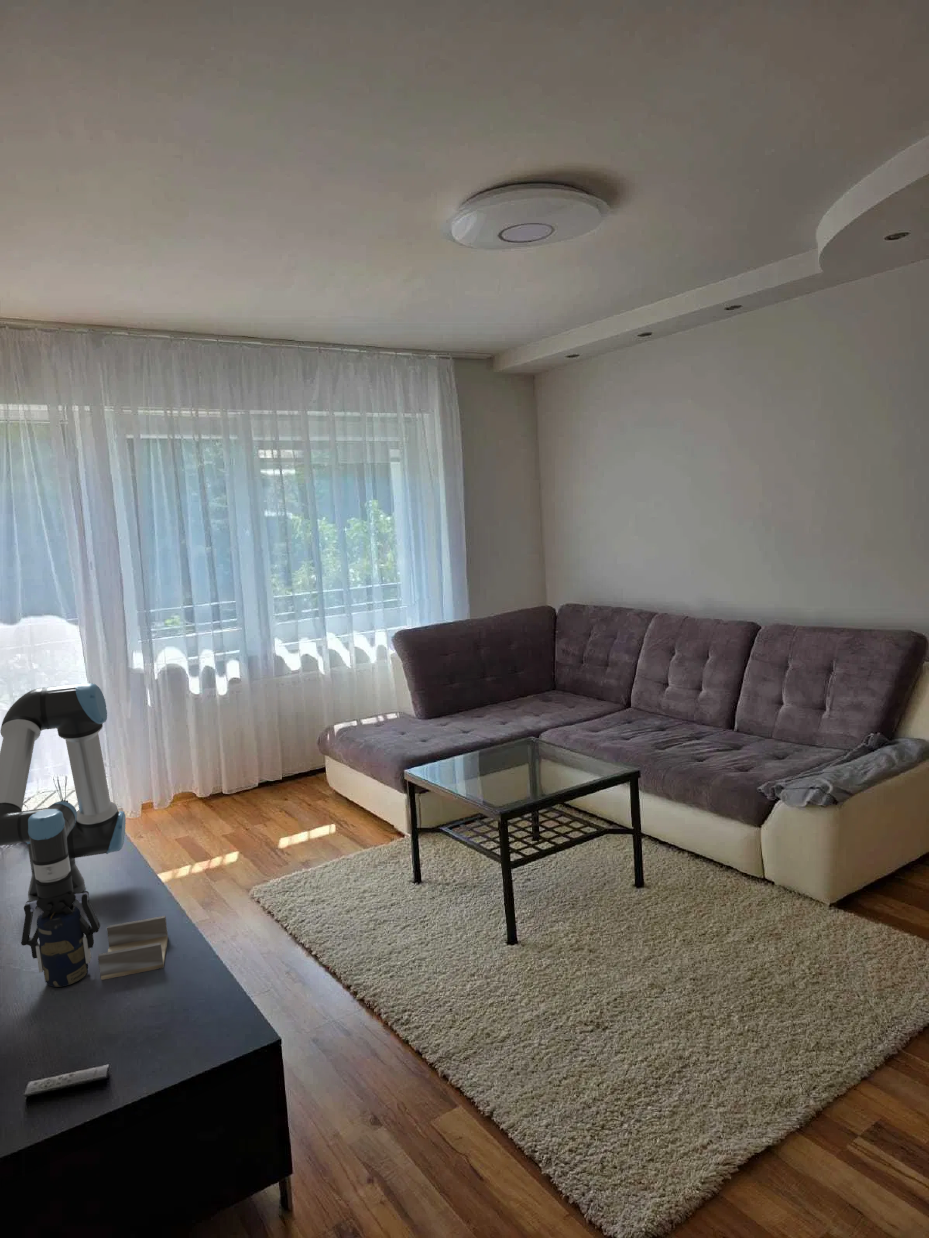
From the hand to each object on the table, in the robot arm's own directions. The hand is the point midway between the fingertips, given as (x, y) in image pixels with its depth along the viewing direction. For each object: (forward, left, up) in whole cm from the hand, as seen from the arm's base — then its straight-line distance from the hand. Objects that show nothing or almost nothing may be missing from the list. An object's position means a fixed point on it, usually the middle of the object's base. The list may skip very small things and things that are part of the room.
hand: (65, 964), depth 197 cm
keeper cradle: (-4, +15, -4) cm, 16 cm away
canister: (0, 0, -4) cm, 4 cm away
